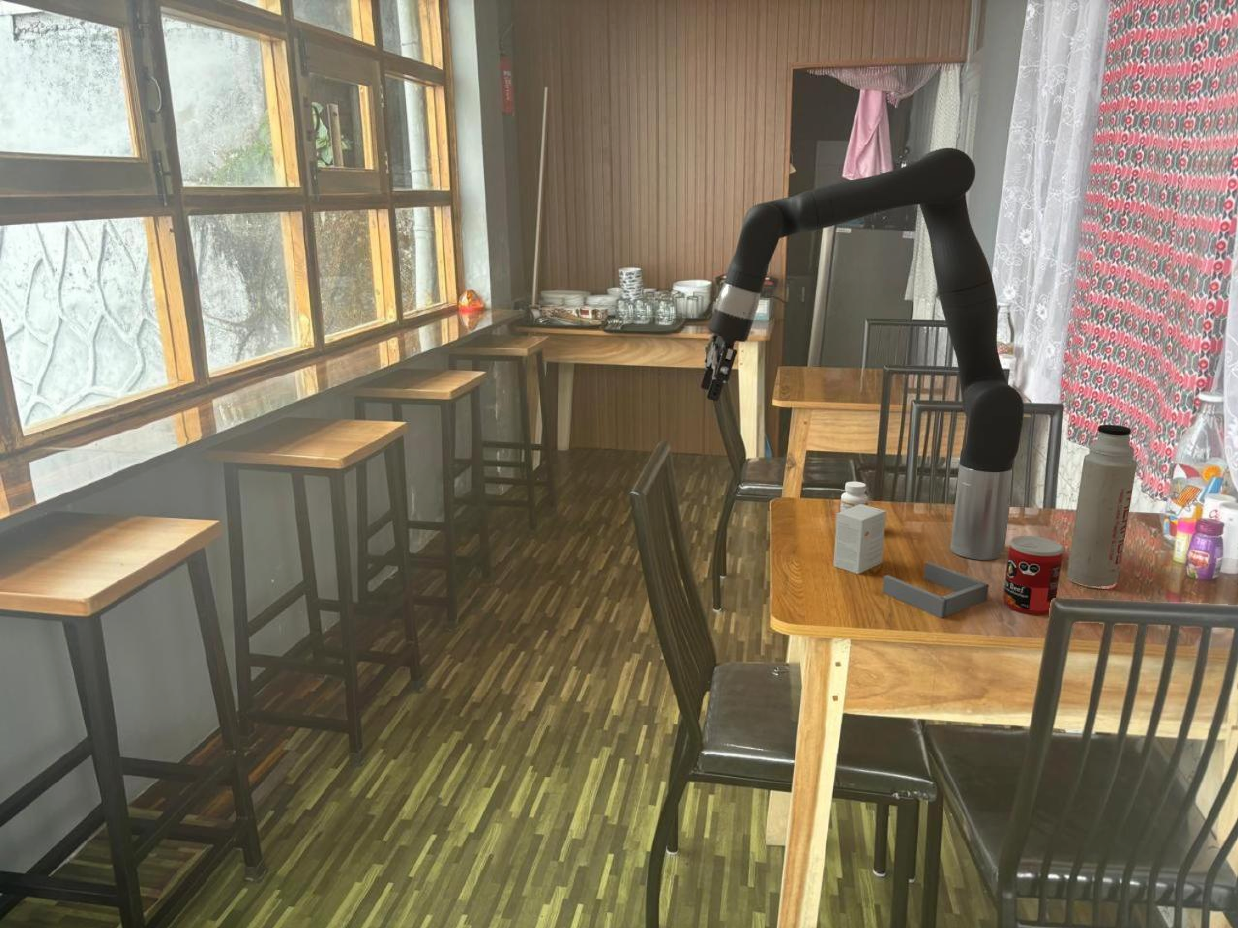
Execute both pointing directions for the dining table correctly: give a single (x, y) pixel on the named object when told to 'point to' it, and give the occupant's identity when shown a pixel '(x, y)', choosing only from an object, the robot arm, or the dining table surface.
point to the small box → (859, 538)
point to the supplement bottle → (853, 495)
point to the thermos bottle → (1102, 508)
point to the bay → (965, 596)
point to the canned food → (1032, 574)
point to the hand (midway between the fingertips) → (708, 394)
